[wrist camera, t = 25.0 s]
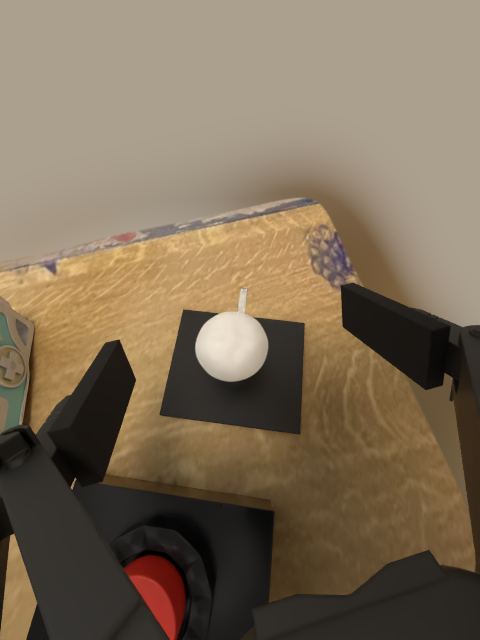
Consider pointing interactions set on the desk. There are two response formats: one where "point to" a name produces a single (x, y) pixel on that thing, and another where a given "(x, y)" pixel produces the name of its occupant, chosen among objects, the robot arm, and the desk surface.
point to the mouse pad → (238, 403)
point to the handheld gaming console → (13, 365)
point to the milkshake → (232, 346)
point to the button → (160, 590)
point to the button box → (188, 548)
